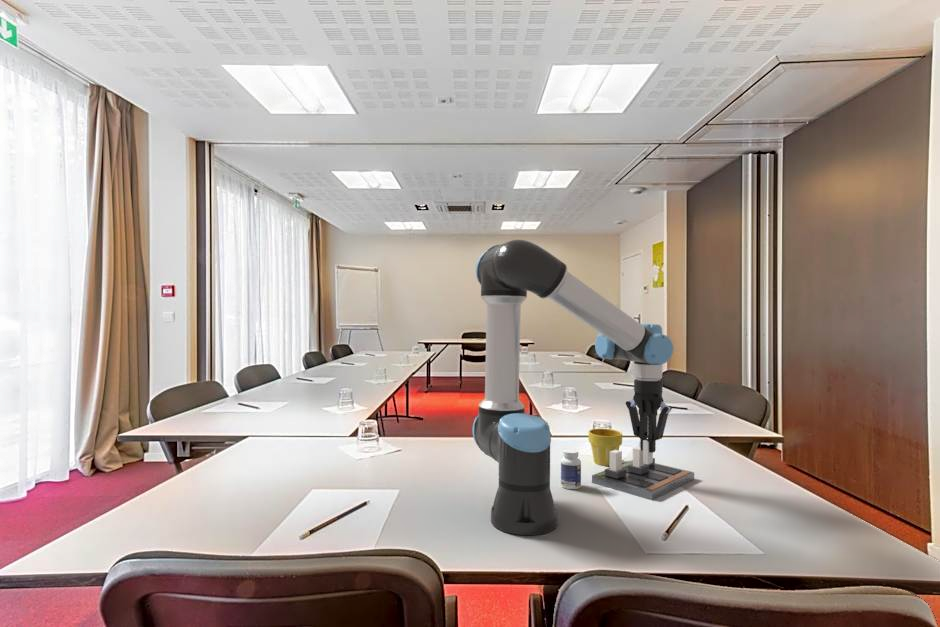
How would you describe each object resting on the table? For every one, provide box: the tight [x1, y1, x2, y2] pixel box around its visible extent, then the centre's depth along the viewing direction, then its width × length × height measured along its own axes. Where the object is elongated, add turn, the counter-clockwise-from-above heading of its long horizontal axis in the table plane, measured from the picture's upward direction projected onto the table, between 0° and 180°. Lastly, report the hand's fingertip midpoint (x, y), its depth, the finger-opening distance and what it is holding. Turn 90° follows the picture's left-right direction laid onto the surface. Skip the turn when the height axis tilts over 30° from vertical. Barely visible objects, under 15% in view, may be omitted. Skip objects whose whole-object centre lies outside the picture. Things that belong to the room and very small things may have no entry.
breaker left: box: [604, 449, 626, 479], centre depth 141 cm, size 4×4×7 cm
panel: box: [591, 459, 695, 501], centre depth 144 cm, size 24×18×2 cm
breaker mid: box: [628, 446, 649, 474], centre depth 145 cm, size 4×4×7 cm
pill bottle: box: [560, 448, 582, 490], centre depth 139 cm, size 5×5×10 cm
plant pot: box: [588, 427, 623, 467], centre depth 161 cm, size 10×10×10 cm
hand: (647, 463), depth 143 cm, fingers closed
